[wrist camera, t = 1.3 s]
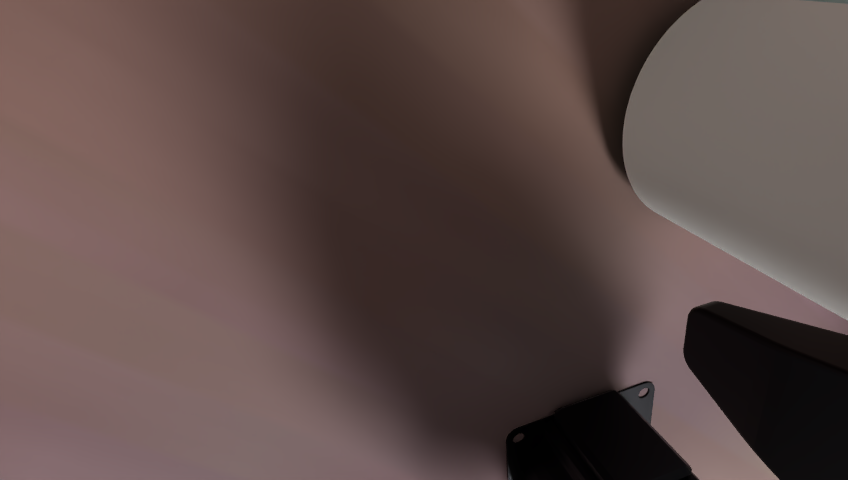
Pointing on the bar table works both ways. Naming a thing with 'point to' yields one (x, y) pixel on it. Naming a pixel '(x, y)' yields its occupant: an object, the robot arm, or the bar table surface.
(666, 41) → the can
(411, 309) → the bar table surface
